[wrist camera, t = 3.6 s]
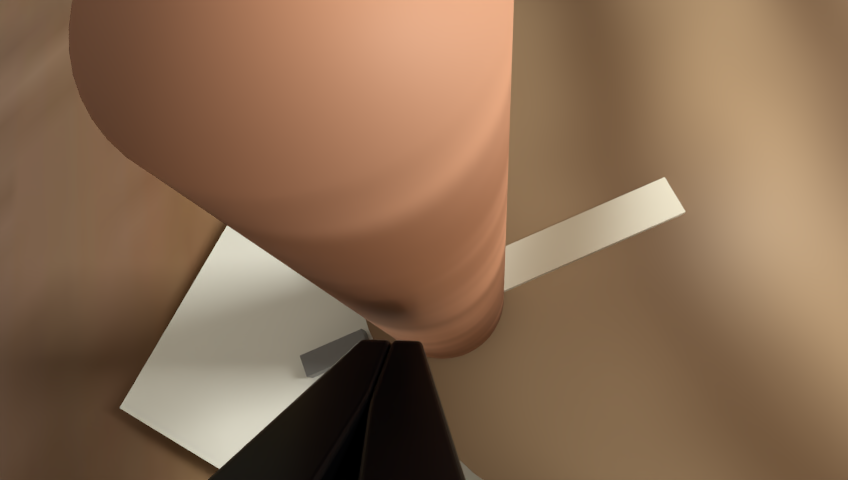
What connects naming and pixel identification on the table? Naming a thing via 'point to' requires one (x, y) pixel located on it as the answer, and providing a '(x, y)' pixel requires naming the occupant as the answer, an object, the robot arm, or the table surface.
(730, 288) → the dial
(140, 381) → the dial plate
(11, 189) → the table surface
